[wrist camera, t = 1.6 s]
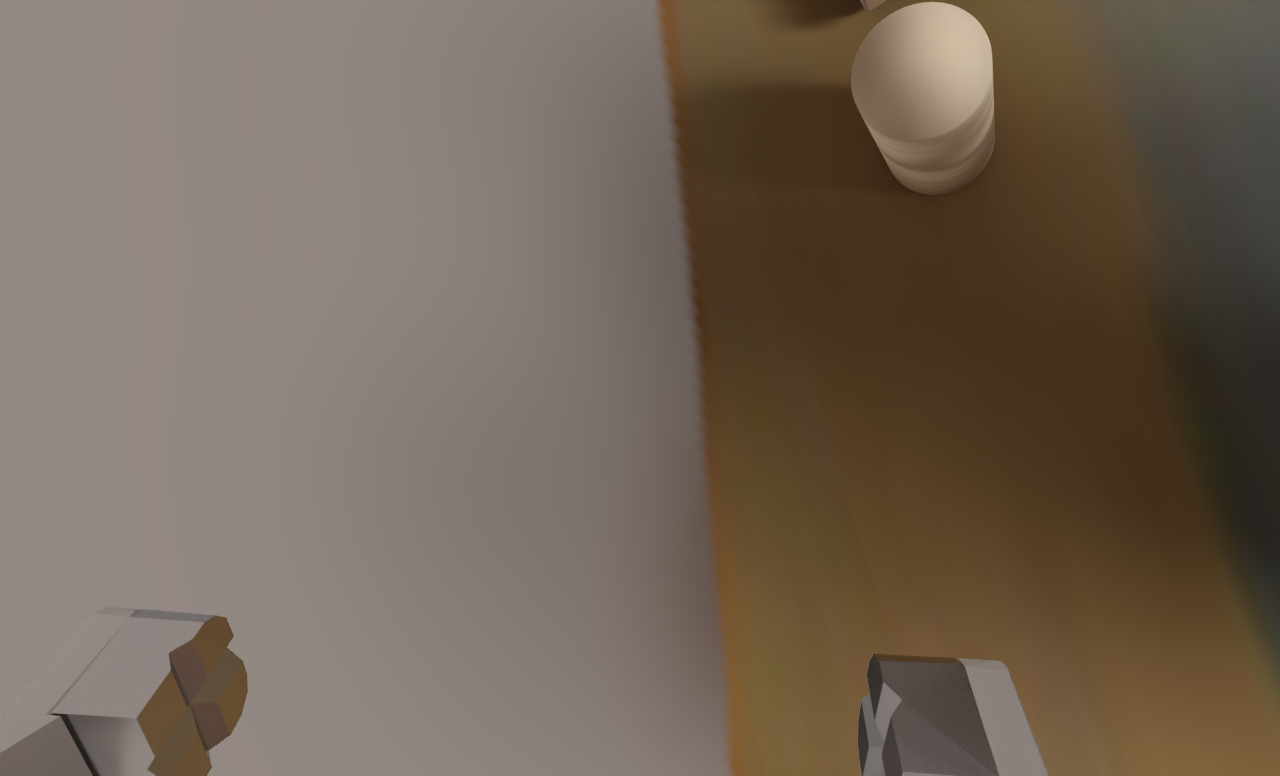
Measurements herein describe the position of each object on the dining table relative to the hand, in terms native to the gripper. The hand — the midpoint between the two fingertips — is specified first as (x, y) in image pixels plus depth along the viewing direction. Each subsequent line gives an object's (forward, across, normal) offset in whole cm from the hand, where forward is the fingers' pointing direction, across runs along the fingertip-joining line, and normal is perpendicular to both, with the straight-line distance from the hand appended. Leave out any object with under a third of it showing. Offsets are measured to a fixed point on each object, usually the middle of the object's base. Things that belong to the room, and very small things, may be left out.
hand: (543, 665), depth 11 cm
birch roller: (+34, -13, +2) cm, 37 cm away
